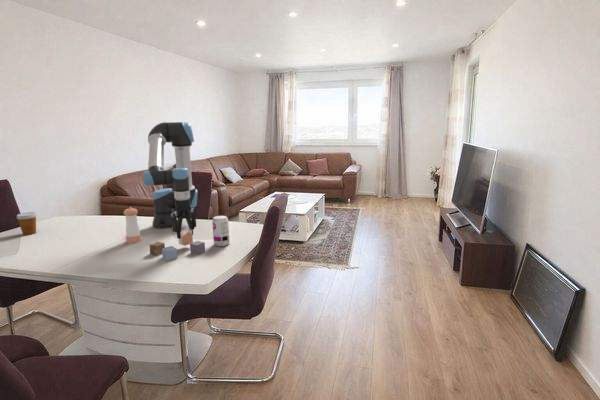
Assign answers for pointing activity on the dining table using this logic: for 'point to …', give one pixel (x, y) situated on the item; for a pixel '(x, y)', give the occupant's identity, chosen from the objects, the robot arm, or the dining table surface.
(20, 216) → the disposable coffee cup
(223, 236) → the supplement can
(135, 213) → the pepper shaker
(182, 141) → the robot arm
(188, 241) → the terracotta cube
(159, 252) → the walnut cube
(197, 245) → the charcoal cube
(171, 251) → the slate blue cube
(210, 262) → the dining table surface
